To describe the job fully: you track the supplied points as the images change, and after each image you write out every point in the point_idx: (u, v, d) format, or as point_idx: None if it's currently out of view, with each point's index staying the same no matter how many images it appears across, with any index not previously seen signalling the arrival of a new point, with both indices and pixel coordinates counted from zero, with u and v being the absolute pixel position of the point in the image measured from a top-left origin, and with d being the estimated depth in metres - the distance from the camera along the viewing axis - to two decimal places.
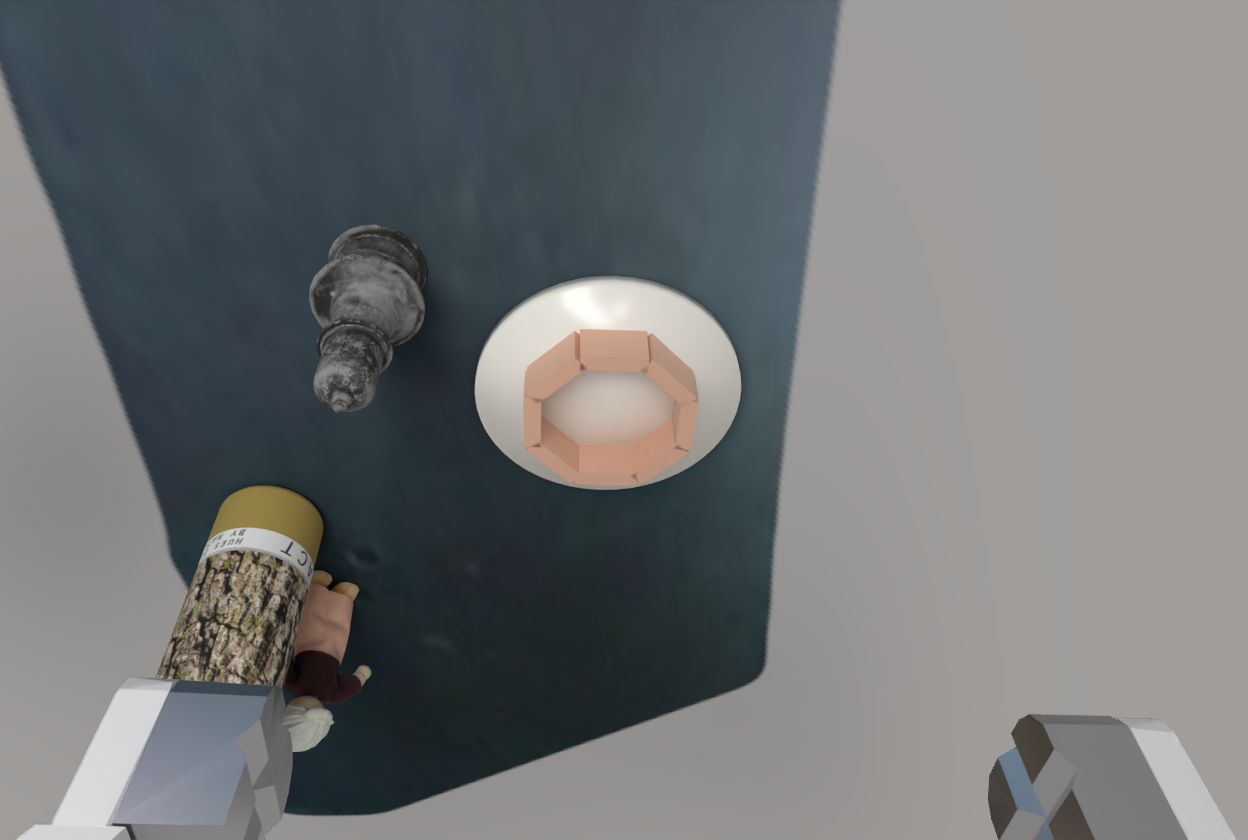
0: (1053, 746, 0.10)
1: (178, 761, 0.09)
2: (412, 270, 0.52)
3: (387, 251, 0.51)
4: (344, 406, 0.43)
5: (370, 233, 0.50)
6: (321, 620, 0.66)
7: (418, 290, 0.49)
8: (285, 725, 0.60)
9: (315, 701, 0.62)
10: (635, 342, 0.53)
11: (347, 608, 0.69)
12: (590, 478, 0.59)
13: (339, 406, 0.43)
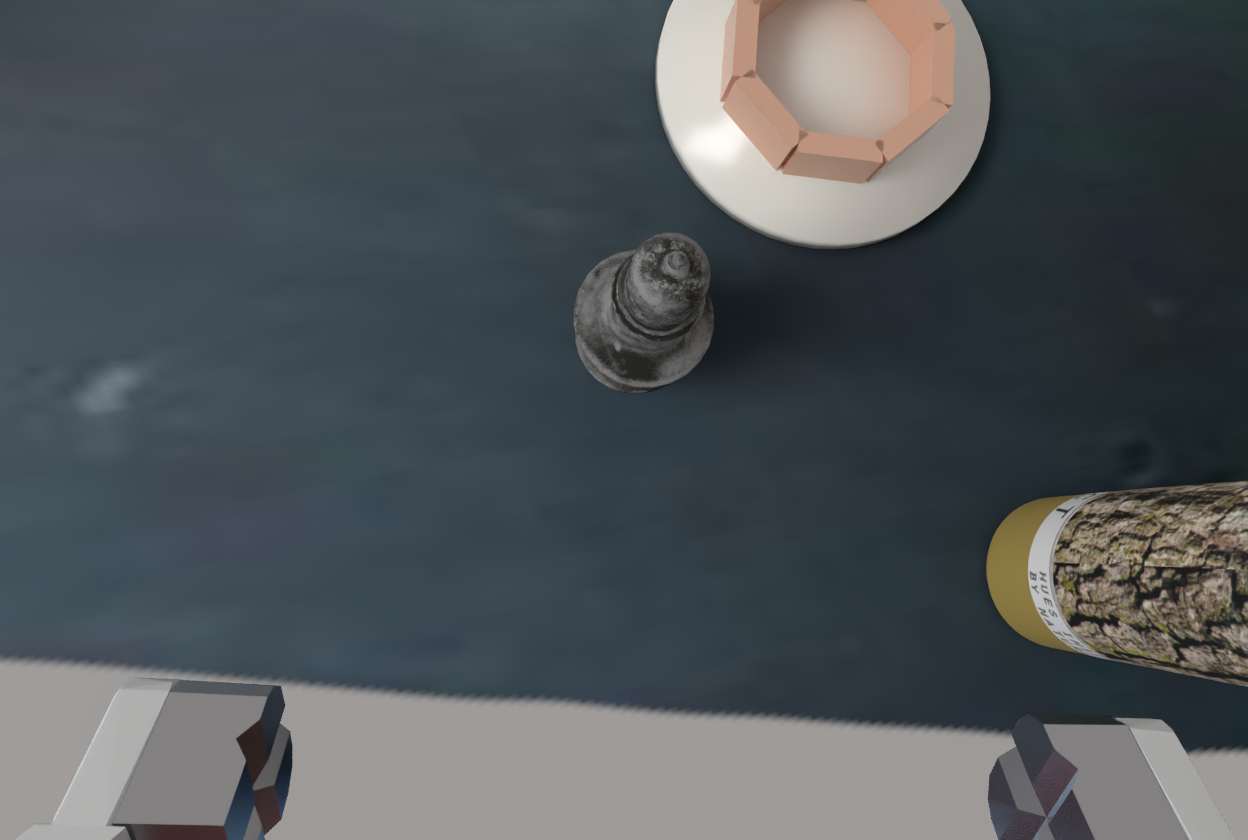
0: (1053, 746, 0.10)
1: (178, 761, 0.09)
2: None
3: None
4: (678, 253, 0.32)
5: None
6: None
7: (625, 251, 0.40)
8: None
9: None
10: (729, 25, 0.43)
11: None
12: (942, 82, 0.42)
13: (674, 256, 0.31)
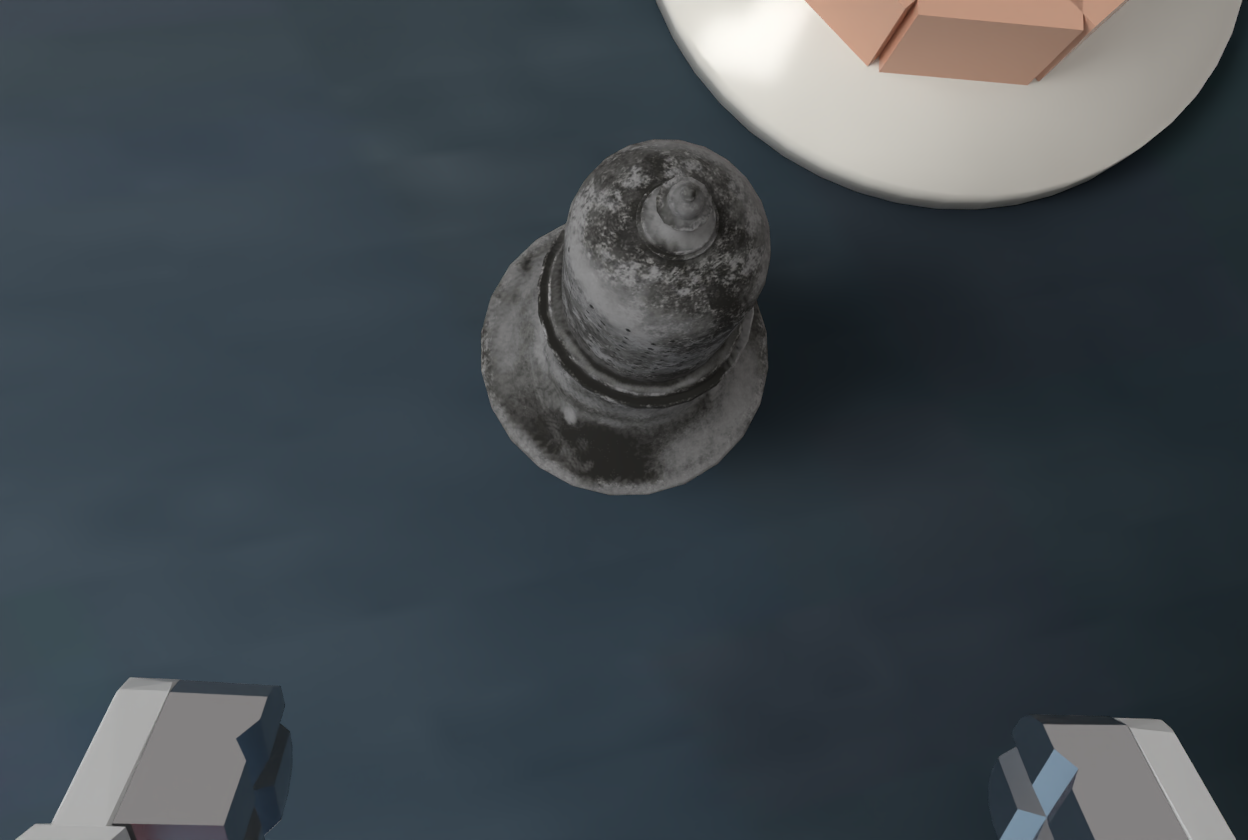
0: (1053, 746, 0.10)
1: (178, 761, 0.09)
2: None
3: None
4: None
5: None
6: None
7: None
8: None
9: None
10: None
11: None
12: None
13: (673, 190, 0.11)
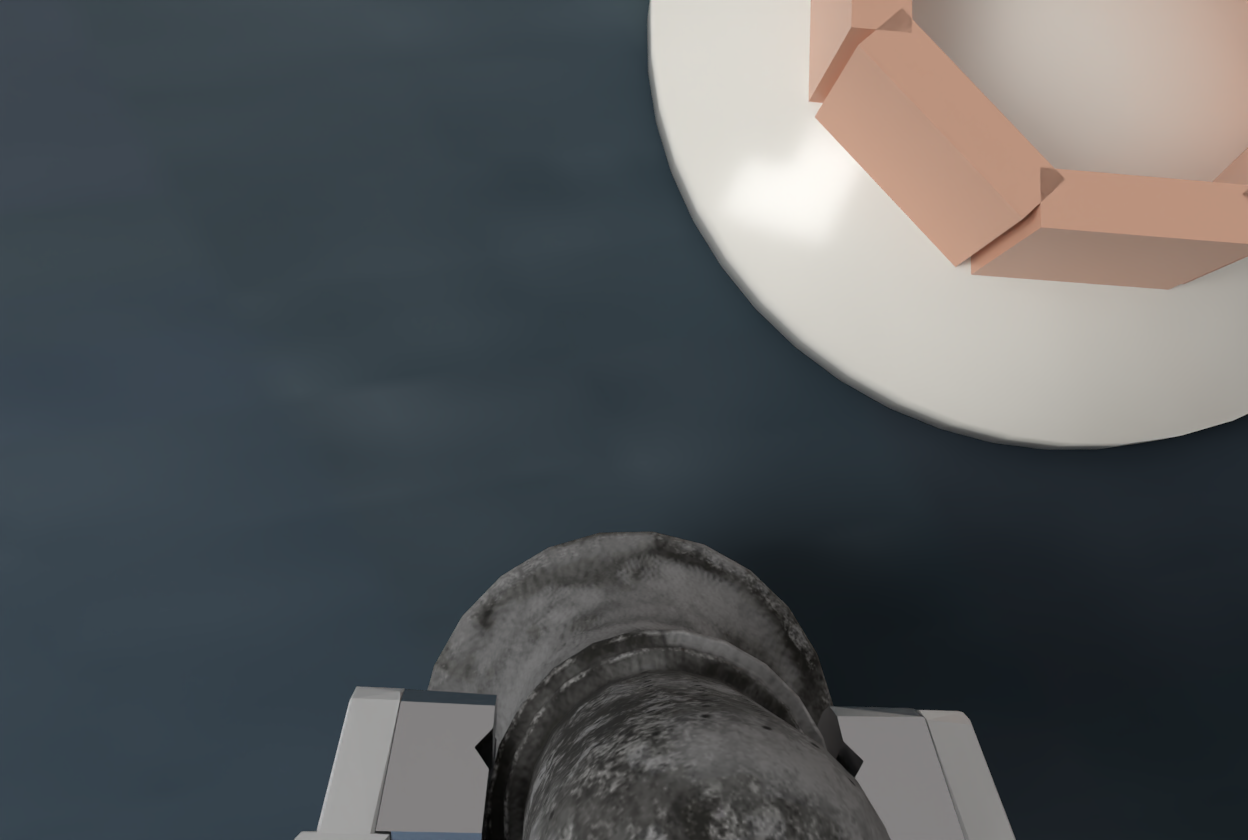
0: (844, 738, 0.10)
1: (425, 770, 0.09)
2: None
3: None
4: None
5: None
6: None
7: (569, 544, 0.14)
8: None
9: None
10: None
11: None
12: None
13: None
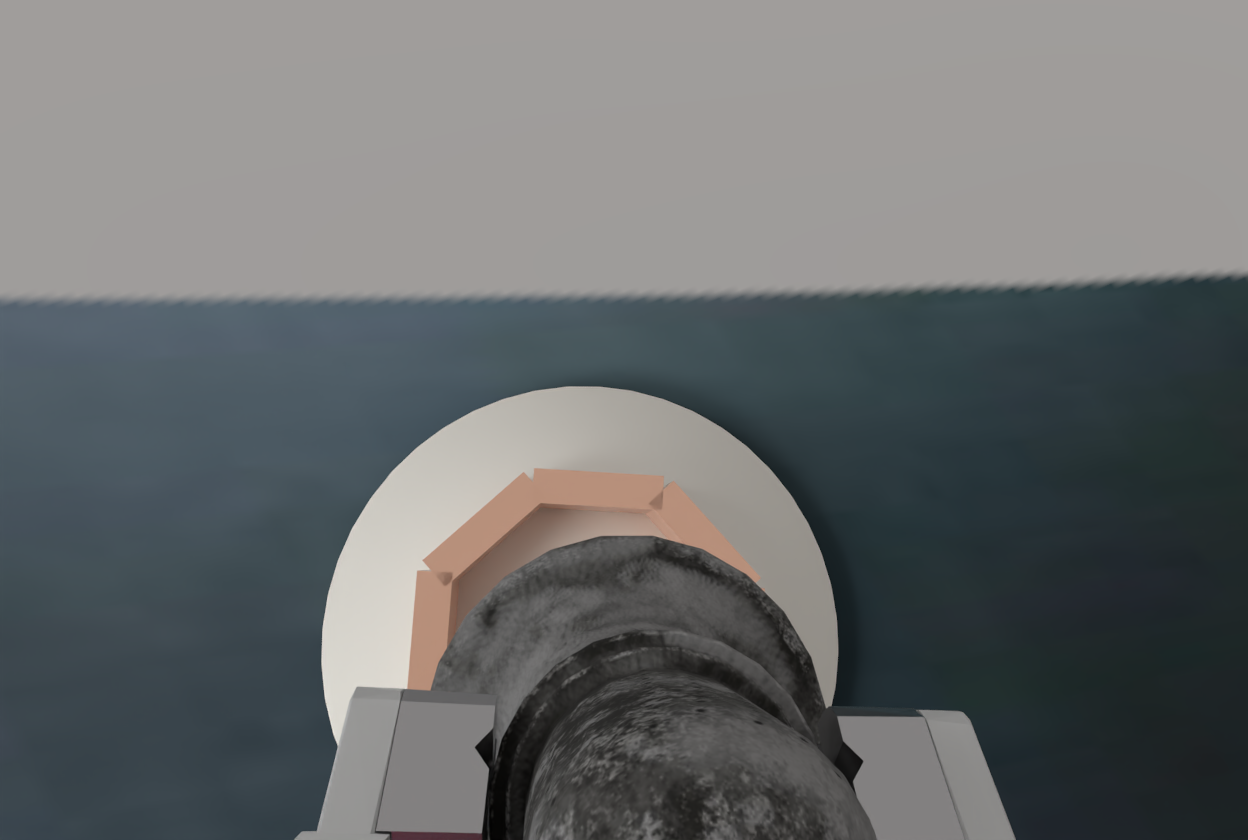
0: (844, 738, 0.10)
1: (425, 770, 0.09)
2: None
3: None
4: None
5: None
6: None
7: (572, 547, 0.14)
8: None
9: None
10: None
11: None
12: None
13: None
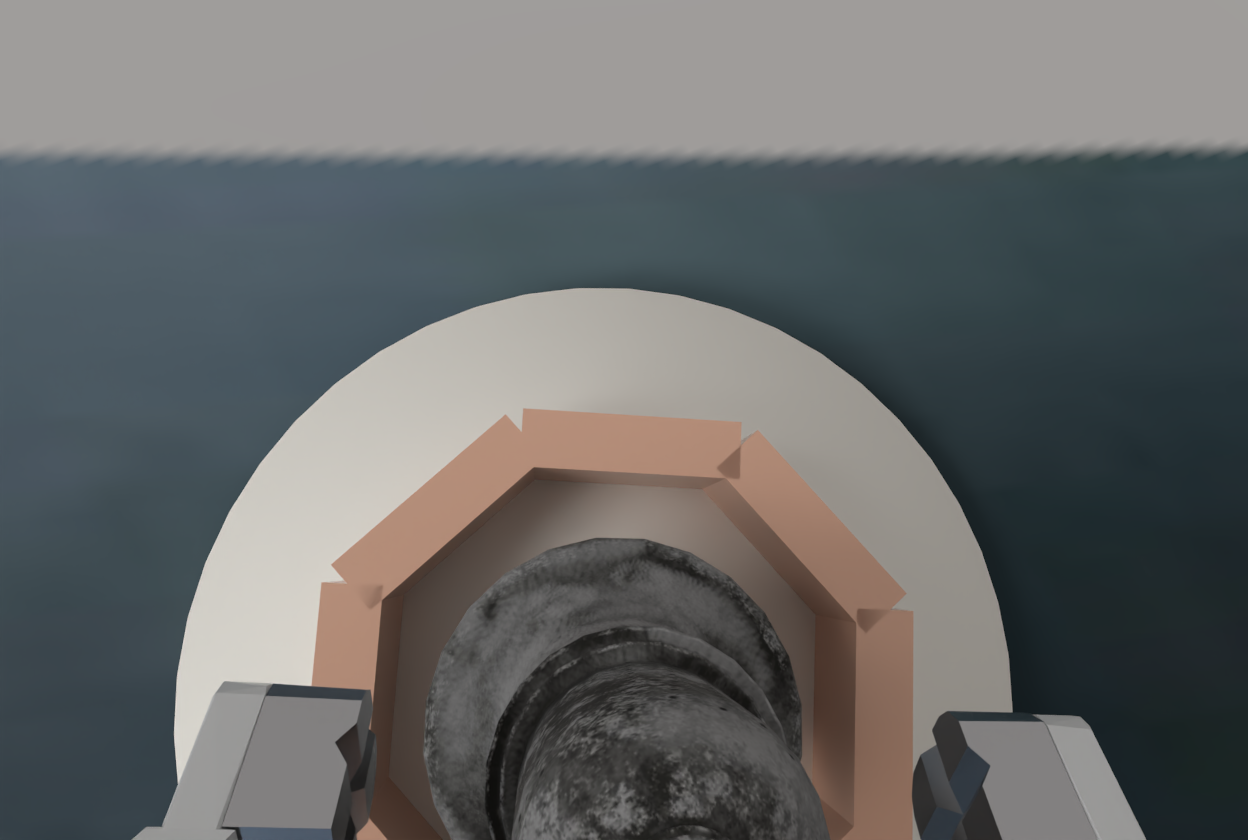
0: (967, 743, 0.10)
1: (280, 764, 0.09)
2: None
3: None
4: None
5: None
6: None
7: (568, 547, 0.15)
8: None
9: None
10: None
11: None
12: (882, 781, 0.16)
13: None
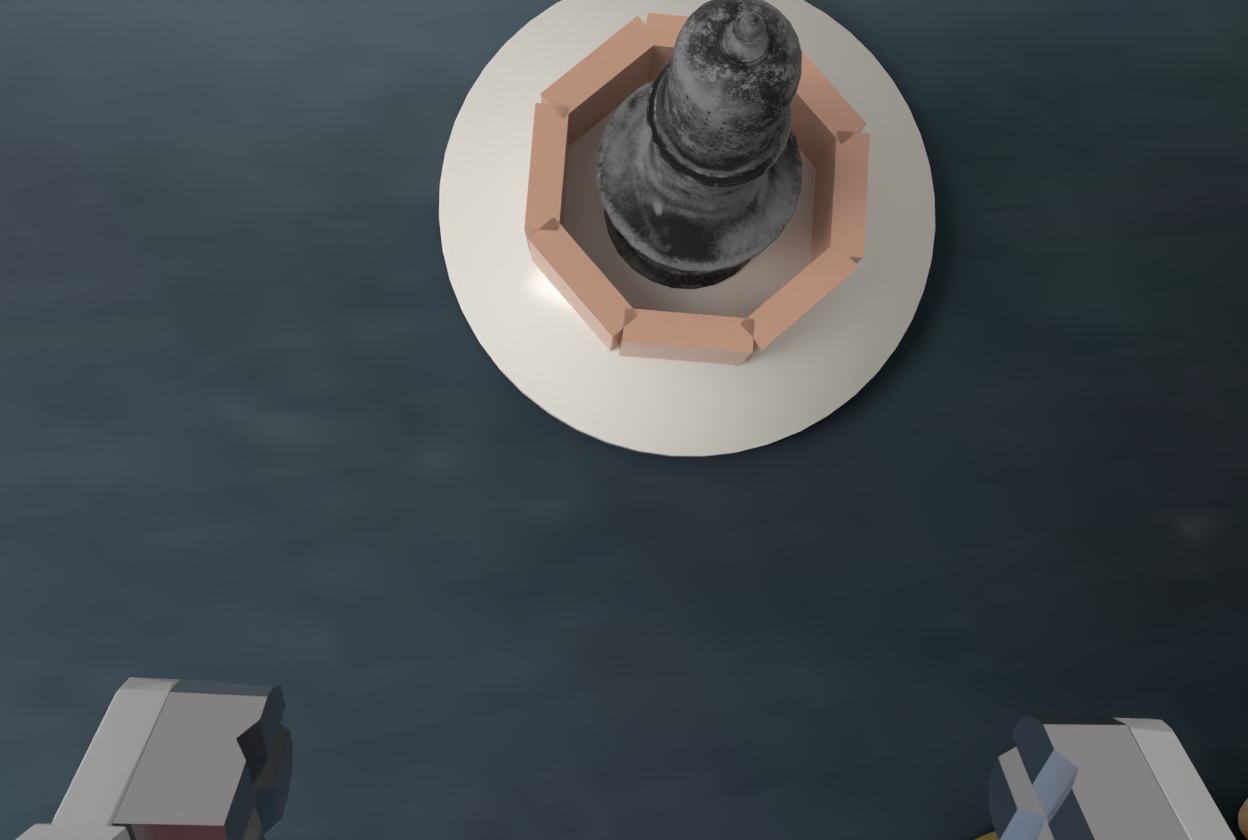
0: (1053, 746, 0.10)
1: (178, 761, 0.09)
2: None
3: None
4: None
5: None
6: None
7: None
8: None
9: None
10: None
11: None
12: (847, 224, 0.28)
13: (743, 18, 0.19)
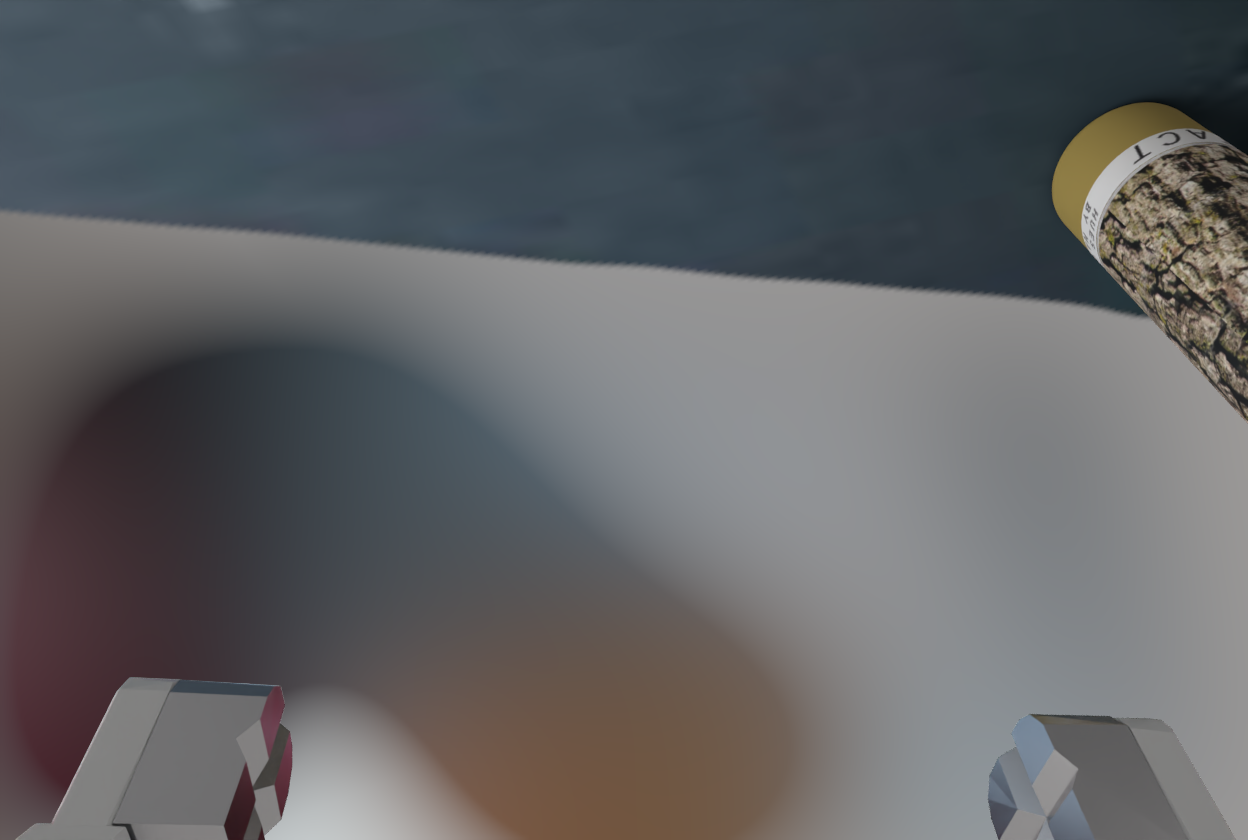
0: (1053, 746, 0.10)
1: (178, 761, 0.09)
2: None
3: None
4: None
5: None
6: None
7: None
8: None
9: None
10: None
11: None
12: None
13: None
